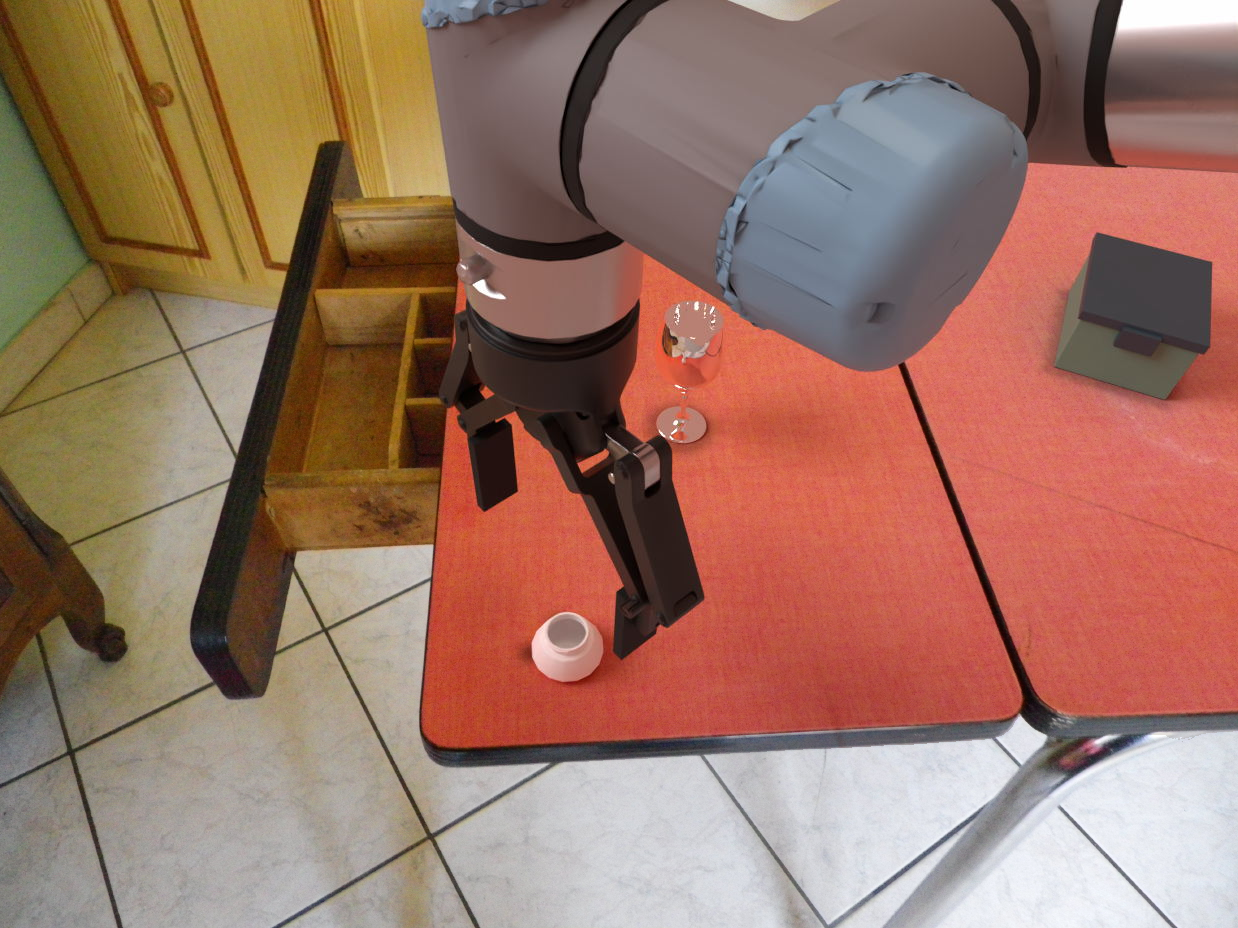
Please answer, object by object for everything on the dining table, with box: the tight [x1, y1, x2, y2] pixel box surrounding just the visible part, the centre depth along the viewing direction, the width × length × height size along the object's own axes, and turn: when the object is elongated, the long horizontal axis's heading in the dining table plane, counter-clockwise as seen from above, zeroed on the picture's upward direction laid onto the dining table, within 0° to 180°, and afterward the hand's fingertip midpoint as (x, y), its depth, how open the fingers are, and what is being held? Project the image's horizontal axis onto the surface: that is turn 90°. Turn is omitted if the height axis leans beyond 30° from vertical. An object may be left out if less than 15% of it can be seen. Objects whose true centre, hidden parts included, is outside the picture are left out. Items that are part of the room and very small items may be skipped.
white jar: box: [531, 611, 604, 683], centre depth 59 cm, size 5×3×5 cm
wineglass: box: [654, 300, 727, 444], centre depth 71 cm, size 6×6×12 cm
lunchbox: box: [1053, 231, 1213, 401], centre depth 81 cm, size 15×11×7 cm
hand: (562, 566), depth 52 cm, fingers open, 13 cm apart
